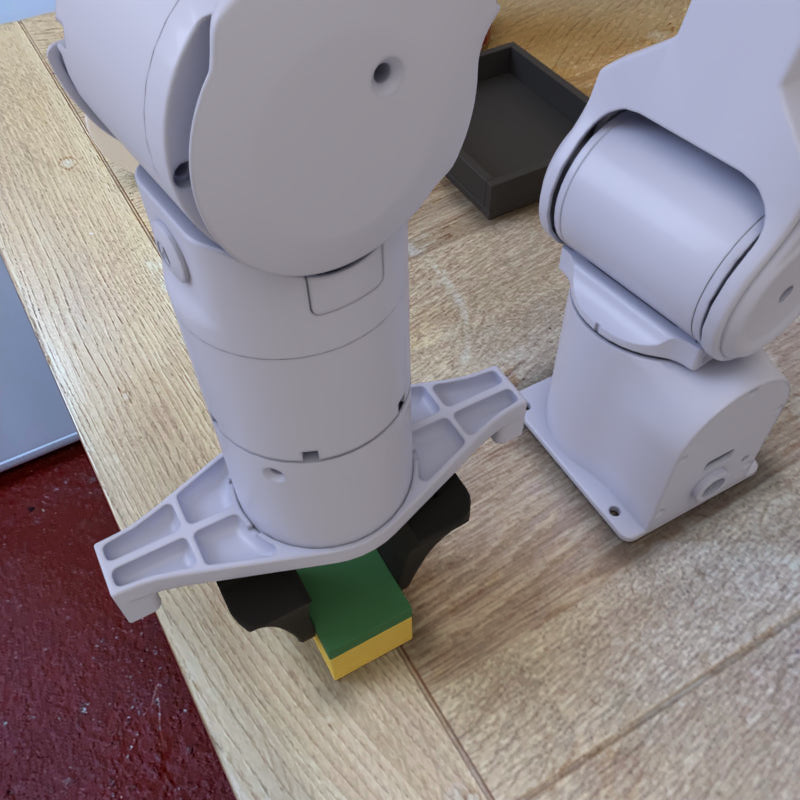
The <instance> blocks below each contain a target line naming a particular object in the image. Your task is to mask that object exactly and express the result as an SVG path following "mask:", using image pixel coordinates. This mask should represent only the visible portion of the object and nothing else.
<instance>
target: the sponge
mask: <svg viewBox="0 0 800 800" xmlns="http://www.w3.org/2000/svg"><path fill="white" fill-rule="evenodd" d="M296 571H297V573H298V575H299V577H300V578H301V580H302V582H303V584H304V586H305V588H306V590H307V592H308V594H309V596H310V598H311V600H312V602H311V603H309V616H310V619H311V621H312V623H313V625H314V627H315V630H316V636H315V637H313V638H312V639H313V641H314V643H315V645H316V646H317V648H318V651H319V652H320V654H321V657H322V659H323V661H324V662H325V664H326V666H327V668H328V670H329V672H330V674H331V676H332V678H333V680H335V681H338V680H339V679H341V678H344V677H345V676H347V675H348V674H351V673H352V672H354V671H356V670H357V669H358V670H359V668H361V667H363V666H365V665H368V664H369V663H371V662H372V661H374V660H376V659H378V658H380V657H381V656H384V655H385V654H387V653H389V652H391V651H392V650H394V649H396V648H398V647H400V646H402V645H403V644H406V643H407V642H409V641H411V640H412V639H413V607H412V605H411V603H410V601H409V600H408V598H407V597H406V595H405V594H404V592H403V590H401V588H400V587H399V585H398V583H397V582H396V580H395V578H394V577H393V575H392V574H391V572H390V570H389V569H388V567H387V565H386V564H385V562H384V560H383V559H382V557H381V555H380V554H379V552H378V550H377V549H375V550H373V551H371V552H369V553H367V554H365V555H363V556H360V557H357V558H354V559H351V560H348V561H344V562H339V563H334V564H327V565H321V566H314V567H307V568H301V569H296Z"/></svg>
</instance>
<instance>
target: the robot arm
mask: <svg viewBox="0 0 800 800" xmlns="http://www.w3.org/2000/svg"><path fill="white" fill-rule="evenodd" d="M54 4H55V5H54V6H55V7H54V8H55V9H54V10H55V12H54V13H55V14H54V15H55V16H54V17H55V18H54V19H55V20H56V21H57V22H58V23H59V24H60V25H61V27H62V28H63V29H62V30H63V38H61V39H59V40H56V41H54V42H52V43H49V44H48V47H47V49H46V56H47V57H46V58H47V60H48V64H49V65H50V67H51V70H52V71H53V74H54V75H55V77H56V79H57V81H58V82H59V83H60V86H61V87H62V88H63V90H64V91H65V93H66V94H67V95H68V96H69V98H70V99H71V100H72V101H73V103H74V104H75V105H76V106H77V107H78V108H79V109H80V111H81V112H82V113H83V114H84V116H85V115H86V116H87V117H88V118H89V119H90V120H91V121H92V122H93V123H95V124H96V125H97V126H98V127H99V128H101V129H102V130H103V131H105V132H106V133H107V134H109V135H110V136H112V137H113V138H115V139H117V140H119V141H120V142H121V144H122V145H123V146H124V147H125V148H126V149H127V150H128V151H129V152H130V154H131V155H132V156H133V157H134V158H135V159H136V160H137V161H138V162H139V163H140V164H139V165H138V166H137V168H136V170H135V174H133V175H134V181H135V184H136V187H137V189H138V192H139V194H140V198H141V201H142V205H143V207H144V210H145V213H146V216H147V219H148V222H149V225H150V228H151V231H152V234H153V238H154V243H155V246H156V248H157V251H158V253H159V255H160V258H161V265H162V273H163V281H164V285H165V289H166V291H167V295H168V297H169V298H168V299H169V300H170V304H171V307H172V309H173V312H174V315H175V318H176V321H177V325H178V327H179V330H180V333H181V336H182V340H183V342H184V346H185V347H186V348H185V349H186V351H187V354H188V357H189V359H190V362H191V365H192V368H193V372H194V374H195V377H196V381H197V383H198V387H199V389H200V392H201V395H202V398H203V401H204V404H205V407H206V410H207V412H208V415H209V418H210V420H211V424H212V426H213V429H214V433H215V435H216V439H217V442H218V444H219V448H220V450H221V452H220V453H219V454H217V455H216V456H215V457H214V458H213V459H212V460H210V461H208V463H206V464H205V465H204V466H203V467H202V468H200V469H199V470H198V471H197V472H195V473H194V474H193V475H191V476H190V477H189V478H188V479H187V480H186V481H185V482H183V483H182V484H181V485H180V486H178V487H177V488H176V489H175V490H174V491H172V492H171V493H170V494H168V495H167V496H166V497H165V498H164V499H162V500H161V501H160V502H159V503H158V504H157V505H155V506H154V507H153V508H152V509H150V510H149V511H147V512H146V513H145V514H143V515H142V516H141V517H140V518H138V519H137V520H135V521H134V522H133V523H131V524H130V525H129V526H126V527H125V528H123V529H122V530H120V531H118V532H116V533H114V534H112V535H110V536H108V537H106V538H104V539H102V540H100V541H98V542H96V543H94V545H93V549H94V551H95V554H96V557H97V560H98V563H99V566H100V570H101V573H102V575H103V578H104V580H105V583H106V586H107V589H108V592H109V595H110V597H111V598H112V600H113V601H114V603H115V604H116V605H117V607H118V608H119V610H120V611H121V613H122V614H123V616H124V617H125V619H126V620H127V622H128V623H129V624H133V623H135V622H137V621H139V620H141V619H143V618H146V617H148V616H150V615H152V614H153V613H155V612H157V611H158V610H159V609H160V608H161V606H162V598H161V596H160V594H159V593H160V592H164V591H169V590H173V589H177V588H182V587H189V586H194V585H195V586H196V585H201V584H208V583H214V582H215V583H216V585H217V587H218V589H219V592H220V595H221V597H222V598H223V601H224V603H225V606H226V607H227V610H228V612H229V614H230V616H231V617H232V618H233V619H234V620H235V622H236V623H237V624H238V625H239V626H241V627H242V628H243V629H245V631H247V632H248V633H252V632H254V631H256V630H259V629H264V628H278V629H281V630H284V631H285V632H288V633H289V634H291V635H293V636H294V637H295V638H296V639H297V640H298V642H299V643H305V642H306V641H308V640H311V639H313V637H315V636H316V630H315V627H314V625H313V623H312V621H311V619H310V616H309V603H311V602H312V600H311V598H310V596H309V594H308V592H307V590H306V588H305V586H304V584H303V582H302V580H301V578H300V577H299V575H298V573H297V571H296V569H301V568H307V567H314V566H321V565H327V564H334V563H339V562H344V561H348V560H351V559H354V558H357V557H360V556H363V555H365V554H367V553H369V552H371V551H373V550H375V549H377V550H378V552H379V554H380V555H381V557H382V559H383V560H384V562H385V564H386V565H387V567H388V569H389V570H390V572H391V574H392V575H393V577H394V578H395V580H396V582H397V583H398V585H399V587H400V588H401V590H402V591H404V590H406V589H407V588H409V586H410V584H411V583H412V581H413V579H414V578H415V576H416V574H417V572H418V570H419V569H420V567H421V565H422V564H423V563H424V561H425V559H426V558H427V557H428V555H429V553H431V551H432V550H433V549H434V547H435V546H437V544H439V542H441V541H442V540H443V539H444V538H445V537H446V536H447V535H448V534H450V533H451V532H453V531H455V530H456V529H458V528H460V527H461V526H463V525H466V524H467V523H468V522H469V521H470V517H471V508H472V506H471V505H472V499H471V498H472V497H471V493H470V492H469V490H468V488H467V487H466V486H465V483H464V482H463V481H462V480H461V478H460V477H459V476H458V474H457V471H458V470H459V469H460V468H461V467H462V466H464V464H465V463H466V462H467V461H468V460H469V459H470V458H471V457H472V456H473V455H474V454H475V453H476V451H478V450H479V449H480V448H481V447H482V446H483V445H484V444H485V442H487V441H488V440H489V439H491V440H492V441H493V442H494V443H495V444H499V445H501V444H506V443H507V442H510V441H512V440H514V439H516V438H518V437H520V436H522V435H523V430H524V425H525V426H526V427H527V429H528V430H529V431H530V432H531V433H532V435H533V436H534V437H535V438H536V440H538V442H539V443H540V444H541V446H542V447H543V448H544V449H545V450H546V451H547V453H548V454H549V455H550V456H551V457H552V458H553V460H554V461H555V462H556V463H557V465H558V466H559V467H560V469H562V471H563V472H564V473H565V474H566V475H567V477H568V478H569V479H570V480H571V482H573V484H574V485H575V486H576V488H577V489H578V490H579V491H580V492H581V494H583V496H584V497H585V498H586V500H588V502H589V503H590V504H591V506H592V507H593V509H594V510H595V511H597V513H598V514H599V515H600V516H601V517H602V519H603V520H604V521H605V522H606V524H607V525H608V526H609V528H611V530H612V531H613V532H614V533H615V535H616V536H617V537H618V538H619V539H621V540H622V541H624V542H627V543H628V542H629V543H631V542H634V541H637V540H639V539H640V538H642V537H644V536H646V535H647V534H650V533H651V532H653V531H655V530H656V529H658V528H660V527H662V526H664V525H665V524H668V523H669V522H671V521H673V520H675V519H676V518H678V517H680V516H682V515H683V514H685V513H687V512H689V511H690V510H692V509H694V508H696V507H698V506H699V505H702V504H704V503H706V501H709V500H710V499H712V498H714V497H716V496H718V495H719V494H722V493H724V492H725V491H727V490H728V489H730V488H732V487H734V486H735V485H737V484H739V483H741V482H743V481H744V480H746V479H749V478H750V477H752V476H753V475H754V474H755V473H757V471H758V468H759V465H758V464H759V463H758V461H757V459H756V458H757V456H758V454H759V452H760V450H761V449H762V448H763V445H764V444H765V442H766V440H767V438H768V437H769V435H770V433H771V431H772V429H773V427H774V426H775V425H776V422H777V421H778V419H779V417H780V416H781V413H782V412H783V410H784V408H785V407H786V405H787V402H788V401H789V398H790V394H791V389H792V388H791V383H790V381H789V380H788V378H787V377H786V376H785V375H784V373H783V372H782V371H781V370H780V369H779V367H778V366H777V365H776V364H775V363H774V361H773V360H772V358H771V357H770V355H769V354H768V353H767V351H766V350H765V348H766V347H767V346H769V345H770V344H771V343H773V342H774V341H775V340H776V339H777V338H778V337H780V336H781V335H782V334H783V333H784V332H786V330H787V329H788V328H789V327H790V326H792V324H793V323H794V322H795V321H796V320H797V319H798V318H799V317H800V0H691V1H690V3H689V6H688V8H687V10H686V13H685V15H684V17H683V20H682V22H681V25H680V27H679V30H678V32H677V33H676V34H675V35H674V36H673V37H669V38H667V39H665V40H662V41H659V42H656V43H654V44H651V45H649V46H646V47H644V48H641V49H638V50H635V51H633V52H631V53H627V54H625V55H624V56H621V57H619V58H617V59H615V60H614V61H612V62H611V63H608V64H606V65H605V66H603V67H602V68H601V69H600V70H599V72H598V74H597V77H596V80H595V83H594V86H593V87H592V91H591V93H590V96H589V101H588V103H587V105H586V106H585V108H584V110H583V112H582V114H581V115H580V117H579V119H578V120H577V122H576V124H575V125H574V127H573V128H572V130H571V131H570V132H569V133H568V135H567V136H566V137H565V138H564V140H563V141H562V143H561V144H560V145H559V147H558V149H557V150H556V152H555V154H554V156H553V157H552V159H551V161H550V164H549V166H548V168H547V171H546V174H545V177H544V180H543V185H542V190H541V194H540V200H539V202H538V216H539V221H540V226H541V227H542V229H543V230H544V232H545V234H546V235H547V236H548V237H550V238H551V239H552V240H554V241H555V242H556V243H558V244H561V245H562V246H561V251H560V256H559V257H560V258H559V264H558V269H559V270H560V271H561V273H562V274H564V275H565V277H566V278H567V279H568V282H569V288H568V292H567V298H566V303H565V307H564V314H563V319H562V323H561V327H560V328H561V329H560V335H559V340H558V344H557V349H556V354H555V359H554V365H553V371H552V375H551V376H548V377H546V378H545V379H542V380H539V381H538V382H536V383H533V384H531V385H529V386H527V387H525V388H523V389H521V390H519V389H518V388H517V387H516V386H515V385H514V384H513V382H512V381H511V380H510V379H509V377H508V376H507V375H506V374H505V373H504V372H503V371H502V370H501V368H500V366H498V365H494V364H493V365H492V366H489V367H486V368H484V369H481V370H478V371H477V372H473V373H470V374H465V375H462V376H456V377H451V378H446V379H439V380H430V381H424V382H416V383H412V373H411V372H412V371H411V370H412V369H411V318H410V314H411V313H410V269H409V221H410V220H411V219H412V218H413V217H414V215H415V214H416V213H417V212H418V211H419V209H420V208H421V207H422V206H423V204H424V203H425V202H426V200H427V199H428V197H429V196H430V194H431V193H432V191H434V189H435V188H436V186H437V185H438V184H439V183H440V182H441V180H443V179H444V177H446V176H445V175H446V174H447V173H448V172H449V170H450V169H451V168H452V167H453V165H454V163H455V161H456V159H457V157H458V154H459V152H460V150H461V147H462V145H463V142H464V139H465V137H466V134H467V131H468V127H469V124H470V120H471V117H472V112H473V108H474V103H475V96H476V89H477V77H478V61H479V55H480V52H481V51H482V49H481V47H482V44H483V41H484V38H485V36H486V34H487V32H488V29H489V28H490V26H491V24H492V25H493V23H494V21H495V19H496V17H497V16H498V14H499V12H500V10H501V8H502V6H501V5H500V4H499V3H498V0H55V3H54ZM492 22H493V23H492ZM612 511H613V512H616V513H617V515H613V514H611V512H612Z"/></svg>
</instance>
